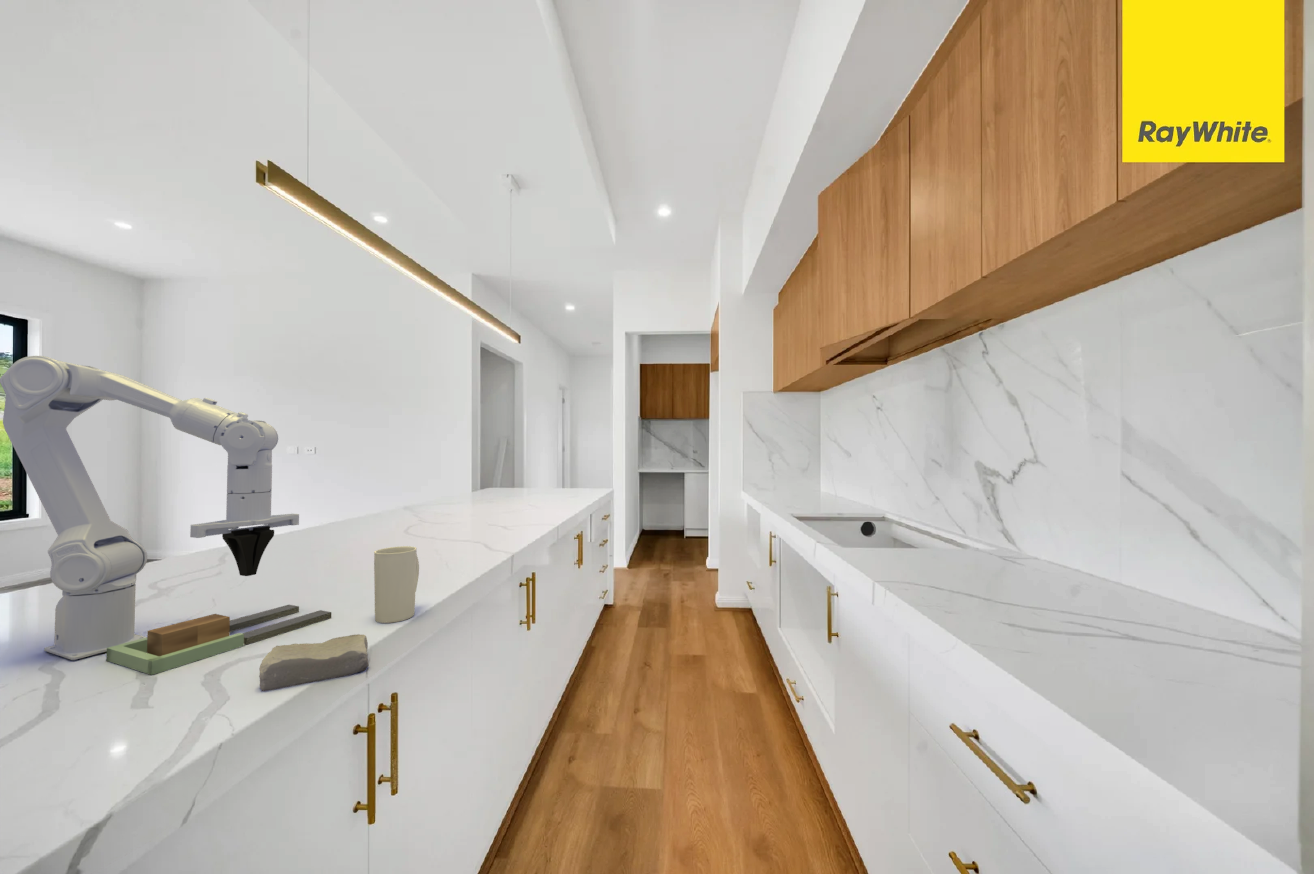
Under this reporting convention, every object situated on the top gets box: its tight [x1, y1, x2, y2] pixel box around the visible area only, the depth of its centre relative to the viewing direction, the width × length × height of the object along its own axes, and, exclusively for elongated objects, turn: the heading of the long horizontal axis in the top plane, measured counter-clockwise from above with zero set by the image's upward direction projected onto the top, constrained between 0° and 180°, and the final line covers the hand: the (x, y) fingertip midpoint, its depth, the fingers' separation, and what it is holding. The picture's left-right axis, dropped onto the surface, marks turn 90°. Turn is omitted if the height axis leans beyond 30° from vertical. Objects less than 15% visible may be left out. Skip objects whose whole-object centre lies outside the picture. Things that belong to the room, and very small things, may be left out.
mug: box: [373, 545, 420, 624], centre depth 89 cm, size 10×7×12 cm, turn 173°
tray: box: [105, 632, 245, 676], centre depth 72 cm, size 12×10×2 cm
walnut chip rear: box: [183, 613, 231, 645], centre depth 75 cm, size 4×4×4 cm
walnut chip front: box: [146, 621, 198, 656], centre depth 71 cm, size 4×4×4 cm
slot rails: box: [229, 604, 332, 645], centre depth 83 cm, size 12×13×1 cm
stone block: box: [258, 633, 369, 692], centre depth 67 cm, size 12×5×10 cm
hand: (247, 574), depth 80 cm, fingers closed
